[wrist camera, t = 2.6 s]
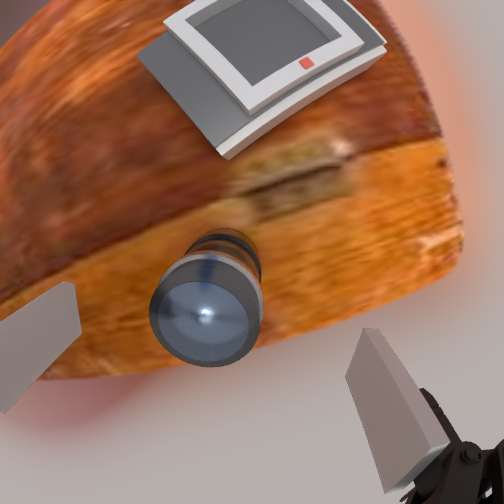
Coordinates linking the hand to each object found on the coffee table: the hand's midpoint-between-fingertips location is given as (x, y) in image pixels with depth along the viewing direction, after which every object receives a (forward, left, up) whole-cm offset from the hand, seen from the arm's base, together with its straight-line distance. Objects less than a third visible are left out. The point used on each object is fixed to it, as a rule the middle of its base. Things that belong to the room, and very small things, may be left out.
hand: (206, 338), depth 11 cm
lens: (0, 0, -11) cm, 11 cm away
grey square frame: (+12, +11, -11) cm, 20 cm away
